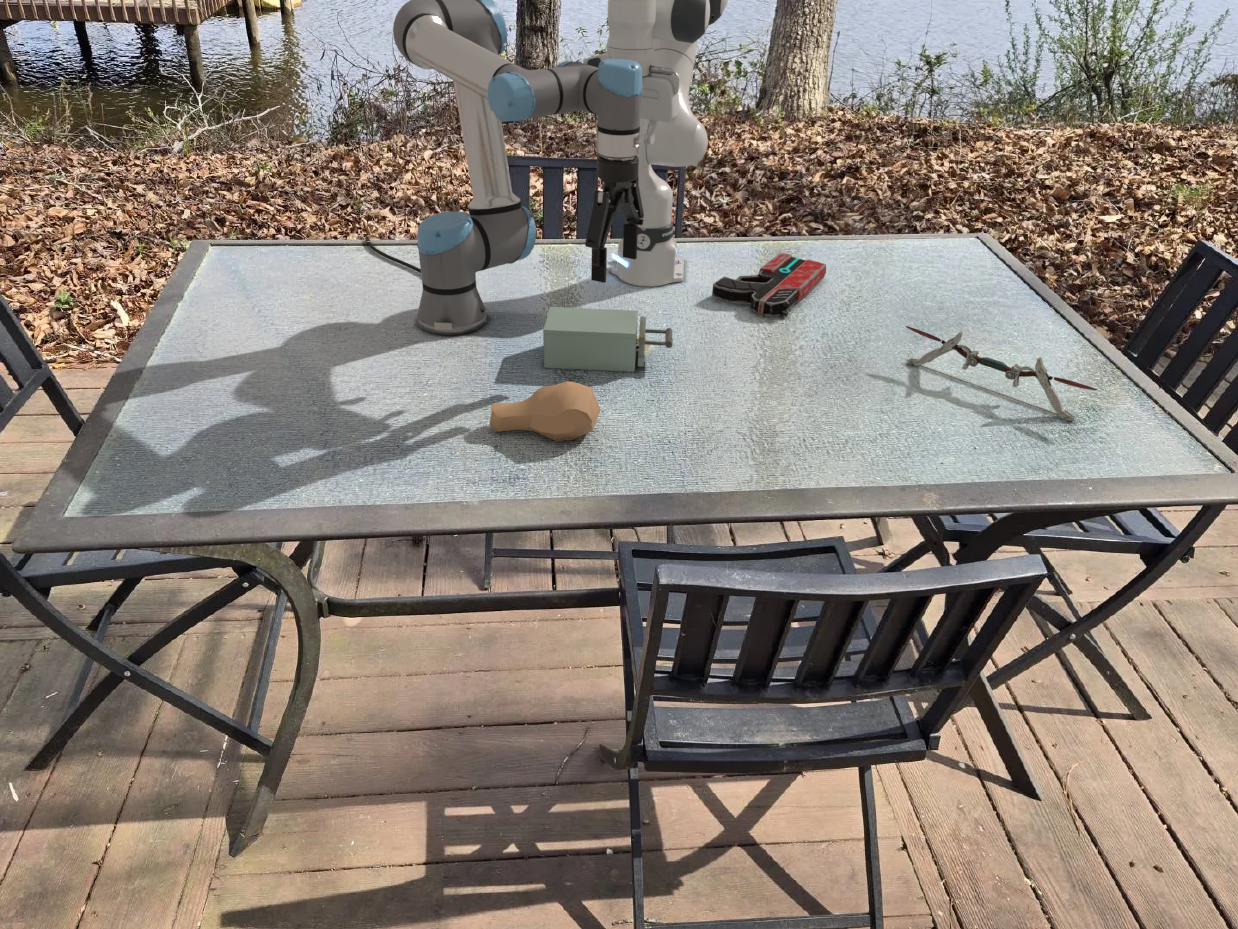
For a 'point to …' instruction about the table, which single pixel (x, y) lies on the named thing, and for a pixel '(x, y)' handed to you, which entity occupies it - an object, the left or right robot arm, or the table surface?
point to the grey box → (590, 339)
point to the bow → (1010, 372)
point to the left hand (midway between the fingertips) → (614, 269)
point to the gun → (772, 285)
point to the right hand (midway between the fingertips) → (627, 139)
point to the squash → (550, 412)
